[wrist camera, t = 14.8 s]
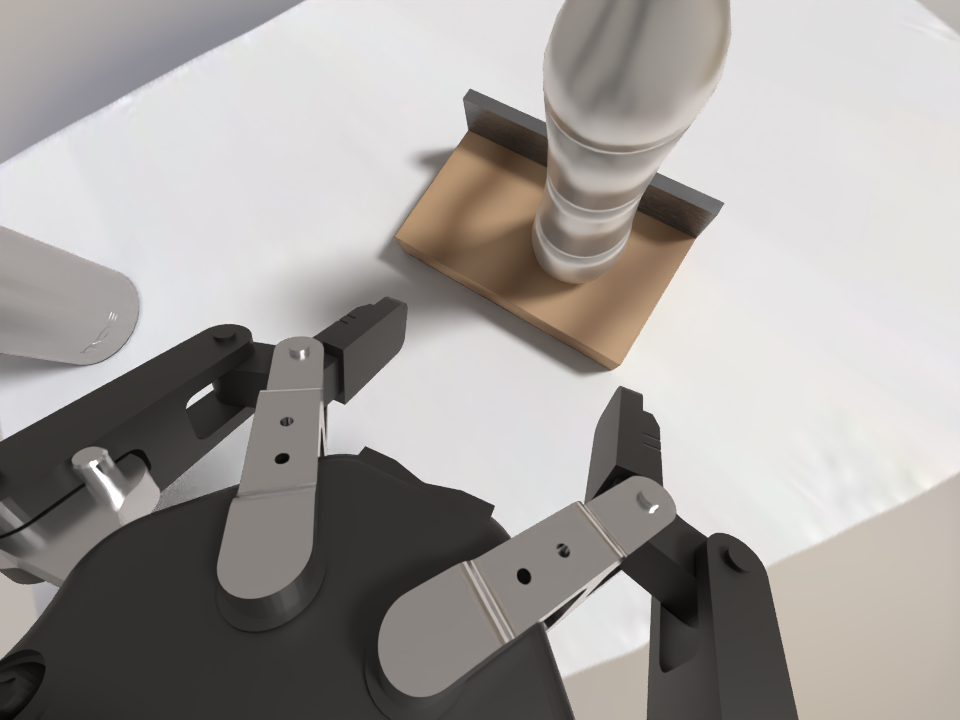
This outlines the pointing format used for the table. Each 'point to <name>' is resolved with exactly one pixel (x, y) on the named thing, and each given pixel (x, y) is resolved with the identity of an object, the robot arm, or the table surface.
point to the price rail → (531, 141)
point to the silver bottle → (617, 117)
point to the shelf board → (511, 258)
